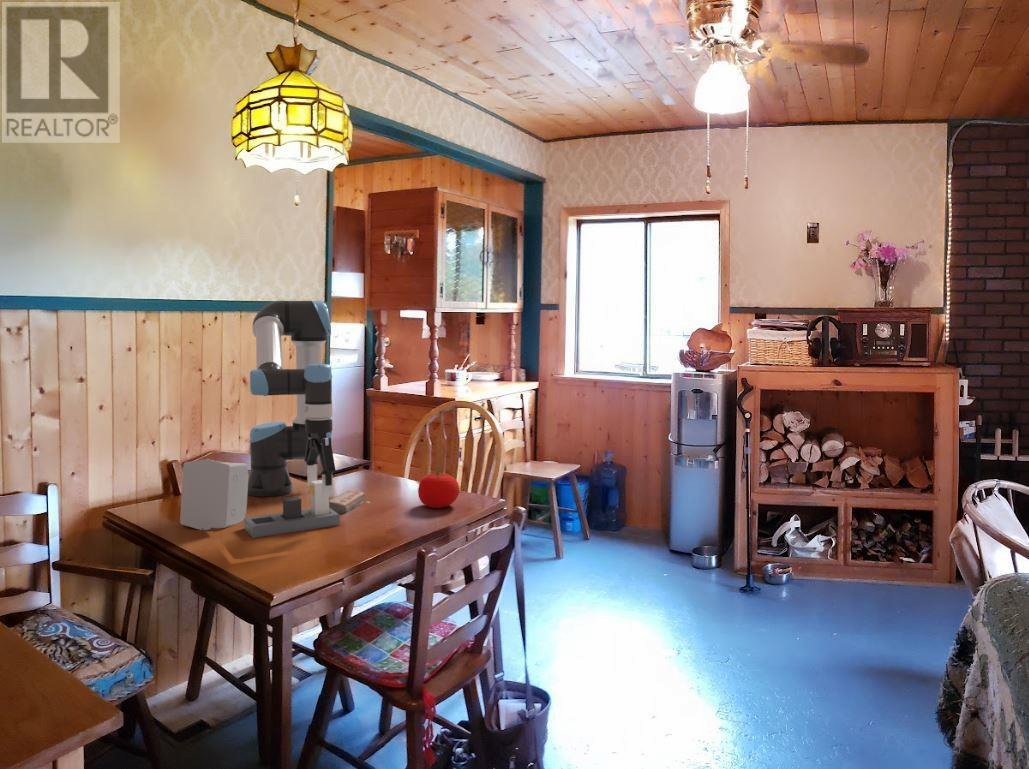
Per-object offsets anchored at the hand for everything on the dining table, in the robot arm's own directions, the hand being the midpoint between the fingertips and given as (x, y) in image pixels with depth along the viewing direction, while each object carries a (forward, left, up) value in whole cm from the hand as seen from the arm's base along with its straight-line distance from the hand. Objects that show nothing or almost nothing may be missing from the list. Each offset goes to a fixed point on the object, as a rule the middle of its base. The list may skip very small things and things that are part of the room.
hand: (319, 491), depth 217 cm
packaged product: (-13, +12, -11) cm, 21 cm away
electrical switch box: (-18, -24, -10) cm, 32 cm away
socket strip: (0, -8, -10) cm, 13 cm away
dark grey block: (0, -8, -9) cm, 12 cm away
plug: (0, 0, -9) cm, 9 cm away
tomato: (-2, +39, -10) cm, 40 cm away
